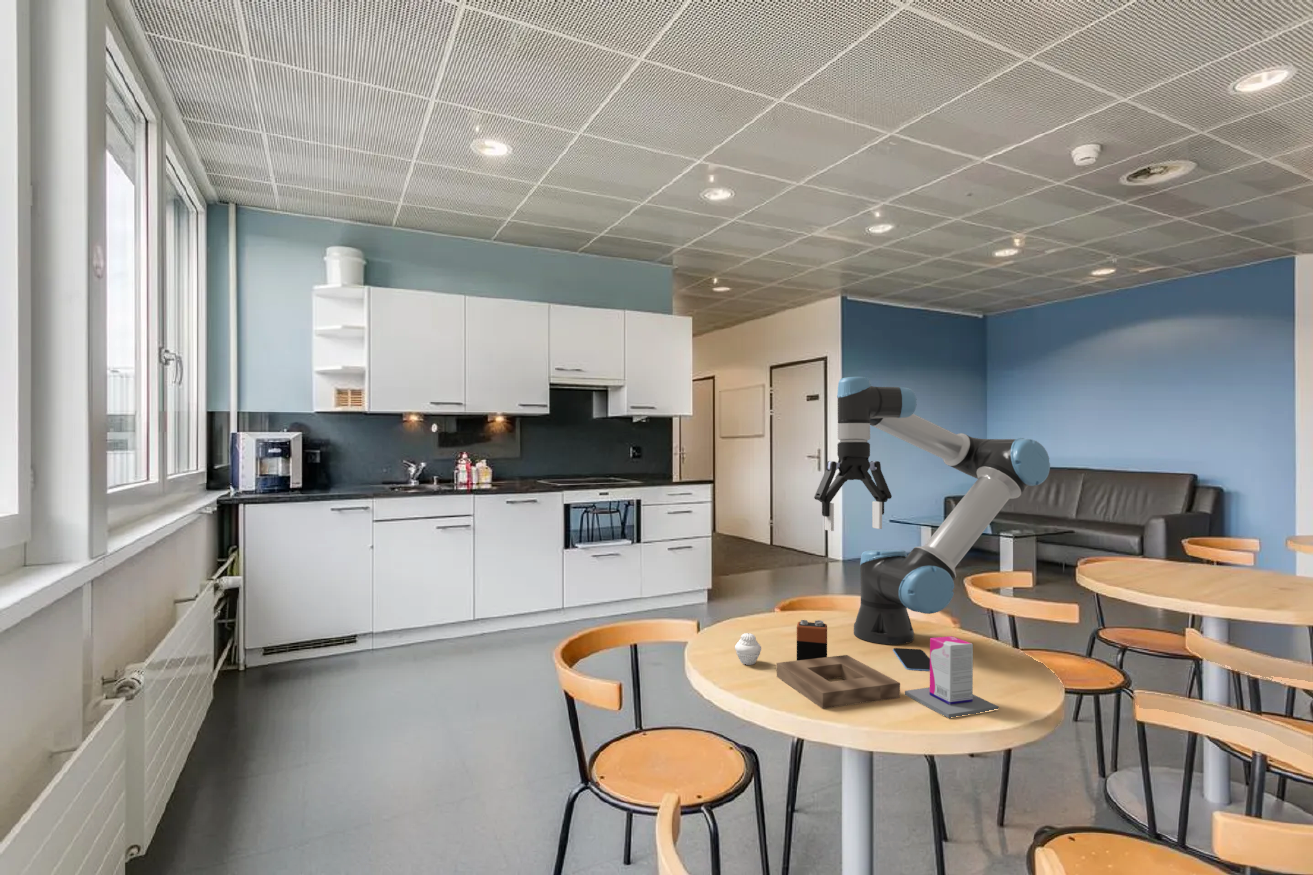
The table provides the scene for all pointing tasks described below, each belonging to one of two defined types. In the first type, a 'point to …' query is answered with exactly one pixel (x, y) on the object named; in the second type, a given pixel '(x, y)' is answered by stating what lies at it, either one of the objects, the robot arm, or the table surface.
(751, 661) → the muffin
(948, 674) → the supplement box
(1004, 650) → the table surface
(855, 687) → the holder
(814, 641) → the battery
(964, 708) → the mat
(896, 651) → the smartphone
